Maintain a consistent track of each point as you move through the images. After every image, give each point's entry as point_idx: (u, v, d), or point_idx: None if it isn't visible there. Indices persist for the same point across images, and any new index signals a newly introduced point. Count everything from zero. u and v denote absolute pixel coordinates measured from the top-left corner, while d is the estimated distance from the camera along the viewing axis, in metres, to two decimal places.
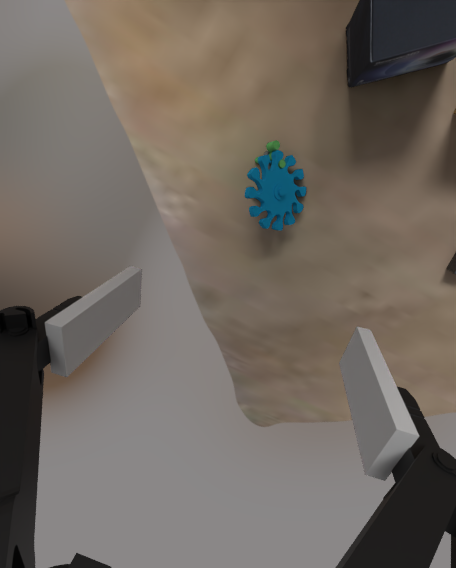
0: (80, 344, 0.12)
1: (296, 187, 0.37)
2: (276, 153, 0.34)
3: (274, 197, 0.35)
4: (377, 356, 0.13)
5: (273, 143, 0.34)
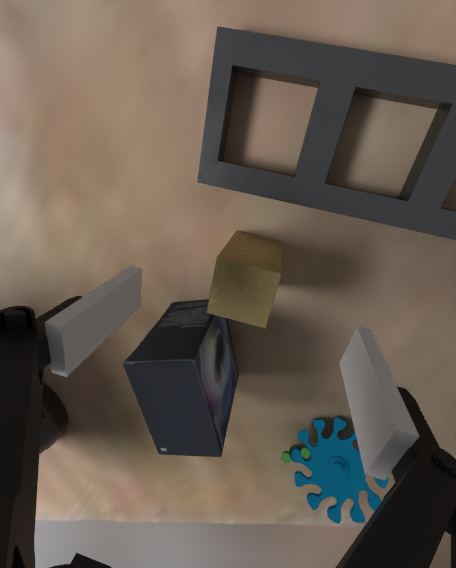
0: (80, 344, 0.12)
1: (333, 435, 0.31)
2: (294, 459, 0.31)
3: (343, 479, 0.30)
4: (377, 356, 0.13)
5: (283, 461, 0.32)
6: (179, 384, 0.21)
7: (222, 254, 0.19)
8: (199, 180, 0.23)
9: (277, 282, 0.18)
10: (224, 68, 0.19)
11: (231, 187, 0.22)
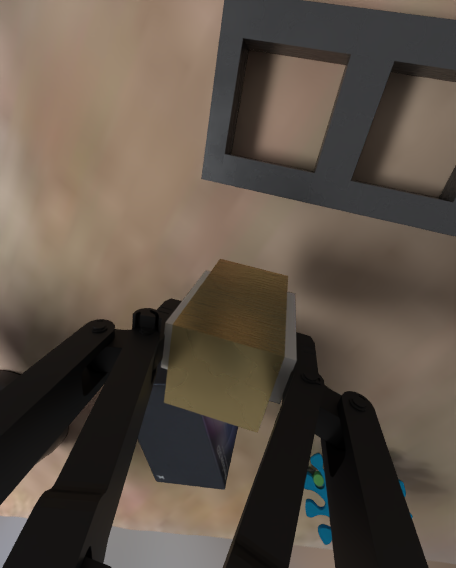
0: None
1: None
2: (305, 486, 0.29)
3: None
4: (290, 311, 0.15)
5: None
6: (177, 411, 0.18)
7: (185, 315, 0.12)
8: (203, 176, 0.20)
9: (277, 369, 0.11)
10: (233, 42, 0.16)
11: (240, 185, 0.19)
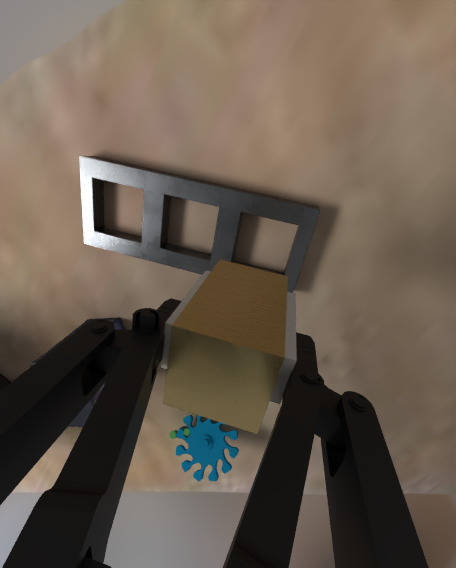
0: None
1: (207, 420, 0.43)
2: (178, 436, 0.43)
3: (208, 451, 0.41)
4: (290, 311, 0.15)
5: (171, 437, 0.43)
6: None
7: (184, 316, 0.11)
8: (85, 242, 0.34)
9: (277, 370, 0.11)
10: (87, 178, 0.30)
11: (105, 247, 0.34)
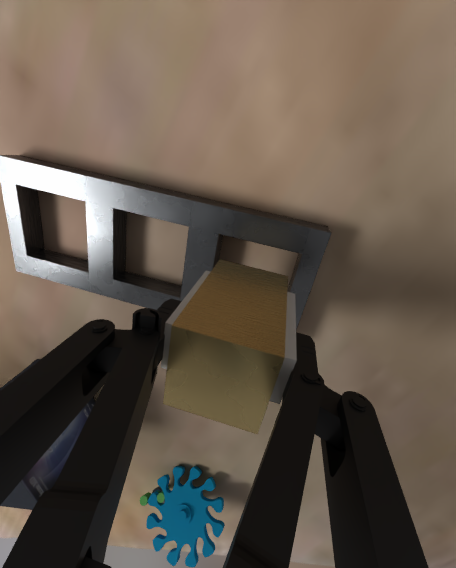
0: None
1: (187, 483, 0.34)
2: (150, 503, 0.35)
3: (186, 525, 0.33)
4: (290, 311, 0.15)
5: (141, 504, 0.35)
6: None
7: (184, 316, 0.11)
8: (17, 269, 0.26)
9: (277, 370, 0.11)
10: (10, 186, 0.22)
11: (43, 277, 0.25)
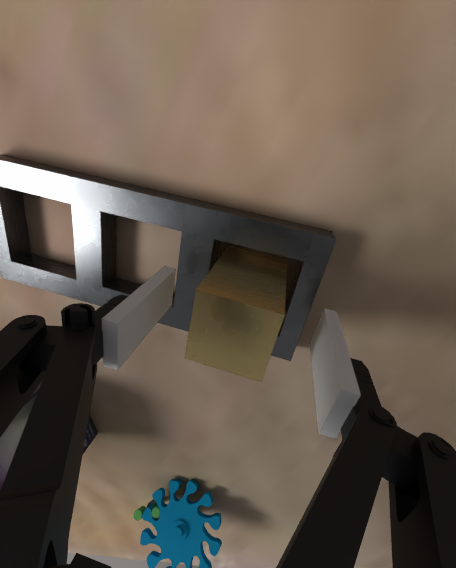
0: (129, 339, 0.13)
1: (183, 498, 0.33)
2: (144, 518, 0.33)
3: (181, 543, 0.31)
4: (337, 332, 0.14)
5: (135, 518, 0.33)
6: None
7: (204, 284, 0.14)
8: (1, 275, 0.24)
9: (278, 326, 0.13)
10: None
11: (29, 283, 0.24)
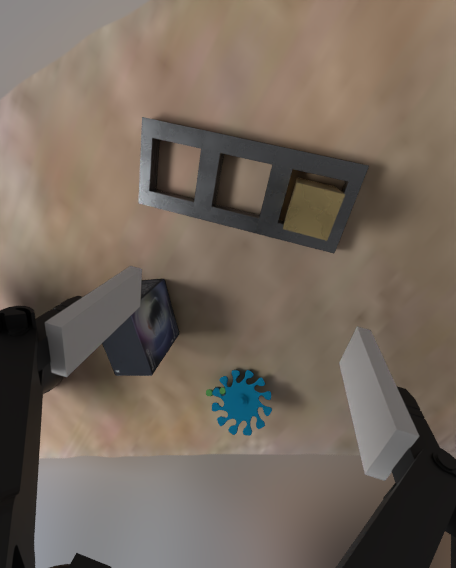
0: (80, 344, 0.12)
1: (243, 381, 0.45)
2: (214, 394, 0.46)
3: (243, 408, 0.44)
4: (377, 356, 0.13)
5: (207, 395, 0.46)
6: (122, 326, 0.35)
7: (299, 182, 0.26)
8: (139, 202, 0.36)
9: (341, 201, 0.25)
10: (148, 139, 0.33)
11: (158, 207, 0.36)
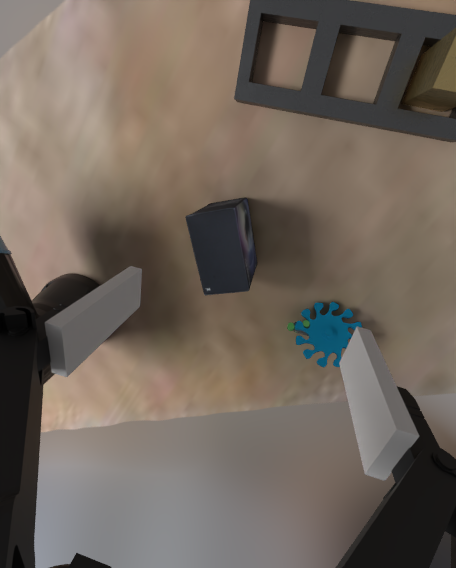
0: (80, 344, 0.12)
1: (328, 313, 0.42)
2: (297, 327, 0.42)
3: (332, 340, 0.41)
4: (377, 356, 0.13)
5: (289, 328, 0.42)
6: (223, 229, 0.32)
7: None
8: (235, 97, 0.33)
9: None
10: (255, 15, 0.30)
11: (257, 101, 0.33)
